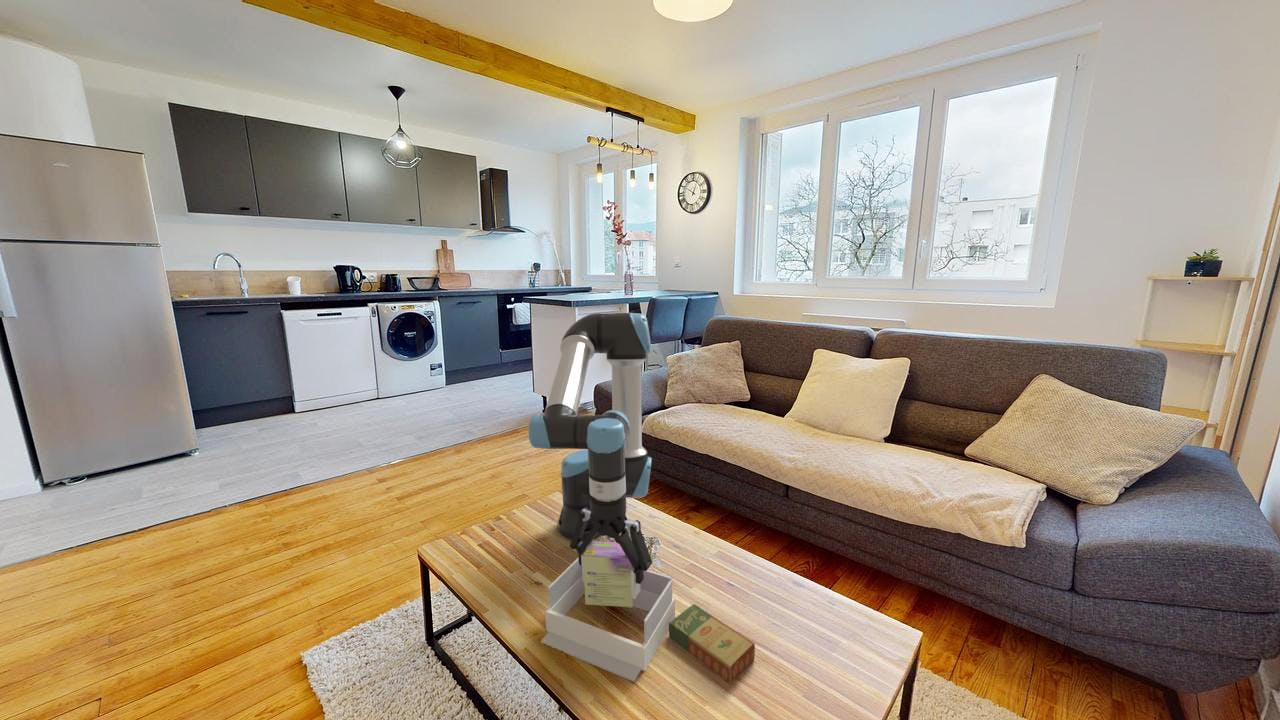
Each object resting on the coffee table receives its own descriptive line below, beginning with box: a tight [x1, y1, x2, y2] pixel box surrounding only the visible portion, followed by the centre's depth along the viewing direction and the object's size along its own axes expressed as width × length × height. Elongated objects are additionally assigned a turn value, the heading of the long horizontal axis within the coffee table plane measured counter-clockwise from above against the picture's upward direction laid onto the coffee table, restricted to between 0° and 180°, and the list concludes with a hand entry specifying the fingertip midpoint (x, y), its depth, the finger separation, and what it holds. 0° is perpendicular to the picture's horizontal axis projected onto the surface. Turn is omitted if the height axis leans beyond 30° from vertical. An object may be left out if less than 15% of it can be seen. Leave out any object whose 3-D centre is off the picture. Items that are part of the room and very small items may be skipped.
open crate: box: [541, 557, 676, 683], centre depth 99 cm, size 24×19×10 cm
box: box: [584, 540, 634, 608], centre depth 100 cm, size 10×6×12 cm, turn 84°
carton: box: [668, 603, 756, 685], centre depth 95 cm, size 8×16×4 cm, turn 43°
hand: (610, 586), depth 100 cm, fingers closed on box, 11 cm apart
